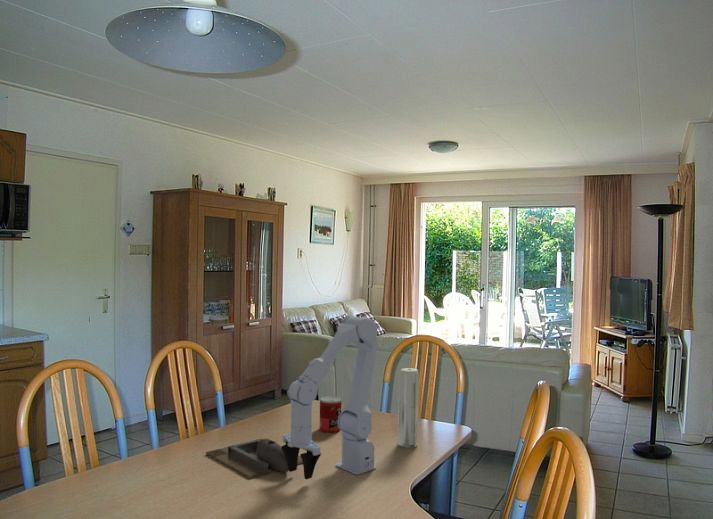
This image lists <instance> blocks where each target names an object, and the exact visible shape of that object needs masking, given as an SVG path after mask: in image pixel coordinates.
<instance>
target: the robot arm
mask: <svg viewBox="0 0 713 519" xmlns="http://www.w3.org/2000/svg"><path fill="white" fill-rule="evenodd" d="M378 330H379V328H378V326H377V324H376V323H375V321H374V320H373V319H371V318H369V317H360V316H354V315H347V316H345V317H344V318H343V319H342V321H341V322H340V323H339V324H338V326H337V331H336V332H335V334H334V336H333V337H332V339H331V341H330V342H329V343H328V345H327V346H326V348H325V349H324V351H323V352H322V354H321V355H320V356H319V357H317V358H313V360H310V361H309V362H308V366H307V368H305V370H304V371H303V373H301V375H299V376H298V379H297V380H295V381H293V382H292V383H291V384H290V385H289V387H288V390H287V391H286V394H287V397H288V398H289V400H290V434H289V433H286V434H283V435H282V443H284V445H281V447H282V448H281V449H282V450H283V452H284V454H285V457H286V460H287V464H288V468H289V471H288V472H291V473H292V472H294V471H297V470H298V469H297V468H298V465H297V463H298V455H299V453H300V450H303V451H305V452H303V453H301V454H300V455H299V456H301V458H302V462H303V463H302V466H303V478H304V479H305V480H310V479H312V478H313V475H314V471H315V467H316V465H317V462H318V461H319V459H320V457H321V456H322V452H321V446H319V445H318V444H317V443H315V441H313V440H312V433H313V432H312V431H313V428H312V427H313V426H312V424H313V423H312V421H313V420H312V419H313V418H312V417H313V415H312V414H313V402H314V401H315V400H316V398H317V396H318V393H317V392H318V390H319V387H320V386H321V384H322V383H323V381H324V380H326V379H325V378H326V377H327V376H328V374H329V373H330V372H331V364H332V363H333V361H334V360H335V359H336V358H337V357H338V356H339V354H340V353H342V351H343V350H344V349H345V347H347V345H351V344H354V345H355V346H356V347H357V350H358V351H357V357H356V361H355V368H354V373H353V377H352V383H351V389H350V393H349V394H350V395H349V399H348V401H347V402H346V403H345V404H344V405H343V406H342V408H341V414H340V416H339V418H338V427H339V429H340V431H341V433H340V434H341V436H342V438H341V462H337V463H335V467H337V468H340V469H342V470H344V471H347V472H349V473H351V474H353V475H357V476H358V475H360V474H361V475H362V474H364V473H366V472H370V471H372V470H376V468H377V466H375V445H374V443H373V442H372V441H370V440H369V436H370V434H371V433H372V429H373V423H372V414H373V413H372V412H371V410H370V408H369V407H368V403H369V397H370V391H371V384H372V380H373V375H374V371H375V370H374V368H375V365H376V364H375V363H376V358H377V353H378V347H379V346H378V338H377V337H378V336H377V333H378Z"/></svg>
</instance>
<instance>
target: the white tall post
mask: <svg viewBox="0 0 713 519" xmlns="http://www.w3.org/2000/svg"><path fill="white" fill-rule="evenodd" d="M419 374H420V372H419V369H417V368H412V367H406V368H401V369H400V371H399V372H398V407H397V408H398V413H397V414H398V417H397V418H398V419H397V421H398V422H397V446H399V447H401V448H405V449H411V448H416V447H417V446H418V445H419V444H418V442H419V439H418V436H419V434H418V433H419V432H418V431H419V386H420V385H419V381H420V380H419V379H420V375H419Z"/></svg>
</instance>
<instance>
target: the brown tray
mask: <svg viewBox="0 0 713 519" xmlns="http://www.w3.org/2000/svg"><path fill="white" fill-rule="evenodd" d="M262 439H263V438H258V439H253V440H249V441H244V442H242V443H236V444H233V445H228V446H227V447H226V446H225V447H221V448H218V449H213V450H209V451H206V452H205V455H206V456H208V457H209V458H210V459H212V460H214V461H216V462H218V463H219V464H222V465H223V466H226V467H227V468H229V469H231V470H233V471H235V472H236V473H239V474H240V475H242V476H244V477H246V478H247V479H249V480H251V479H255V478H258V477H261V476H265V475H269V467H268V463H267V462H265V461H263V460H261V459H259V458H258V457H257V456H255V455H253V454H251V453H255V452H257V444H258V442H259V441H260V440H262ZM301 464H302V465H303V462H302V458H301V456H300V455H299V454H298V463H297V466H298V465H301Z"/></svg>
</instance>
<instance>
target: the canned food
mask: <svg viewBox="0 0 713 519" xmlns="http://www.w3.org/2000/svg"><path fill="white" fill-rule="evenodd" d="M342 403H343V400H342V398H341V397H339V396H330V395H329V396H328V395H327V396H323V397H320V399H319V430H320V431H321V432H323V433H339V432H340V431H341V430H340V429H339V427H338V418H339V416H340V414H341V412H342V409H343V406H342Z"/></svg>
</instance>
